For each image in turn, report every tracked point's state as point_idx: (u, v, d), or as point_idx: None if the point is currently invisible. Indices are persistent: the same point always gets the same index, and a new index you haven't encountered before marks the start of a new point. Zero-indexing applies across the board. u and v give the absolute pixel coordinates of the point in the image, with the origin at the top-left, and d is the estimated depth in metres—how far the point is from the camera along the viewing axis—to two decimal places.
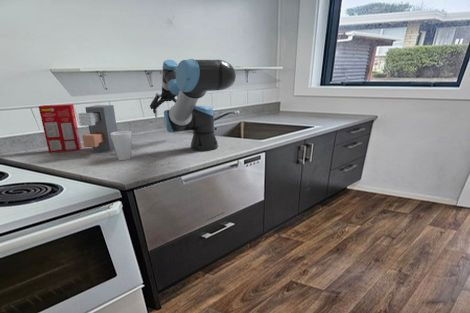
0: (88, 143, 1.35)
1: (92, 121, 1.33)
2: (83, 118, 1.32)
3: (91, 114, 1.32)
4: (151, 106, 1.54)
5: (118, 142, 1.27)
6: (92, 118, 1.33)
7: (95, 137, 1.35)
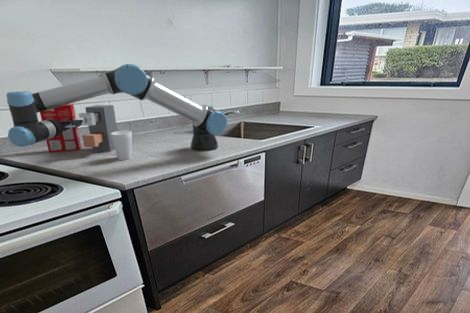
0: (88, 143, 1.35)
1: (92, 121, 1.33)
2: None
3: (91, 114, 1.32)
4: (80, 121, 1.23)
5: (118, 142, 1.27)
6: (92, 118, 1.33)
7: (95, 137, 1.35)
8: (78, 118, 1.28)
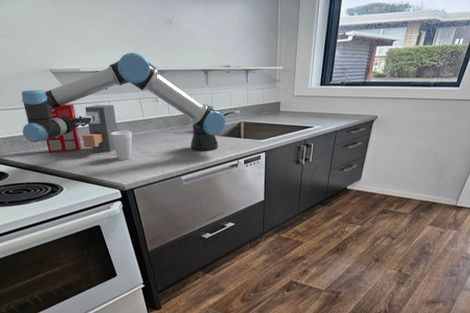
0: (88, 143, 1.35)
1: (99, 119, 1.39)
2: None
3: (98, 112, 1.38)
4: (88, 118, 1.29)
5: (118, 142, 1.27)
6: (99, 116, 1.39)
7: (95, 137, 1.35)
8: (86, 116, 1.34)
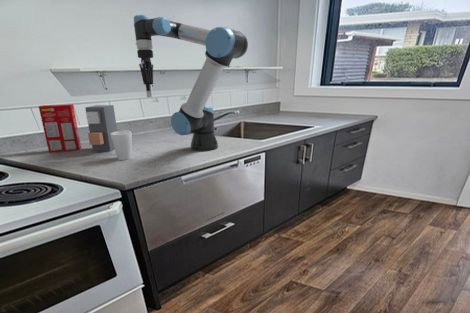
0: (93, 141, 1.40)
1: (99, 119, 1.39)
2: (90, 117, 1.38)
3: (98, 112, 1.38)
4: (146, 80, 1.36)
5: (118, 142, 1.27)
6: (99, 116, 1.39)
7: (100, 135, 1.40)
8: (151, 90, 1.42)
